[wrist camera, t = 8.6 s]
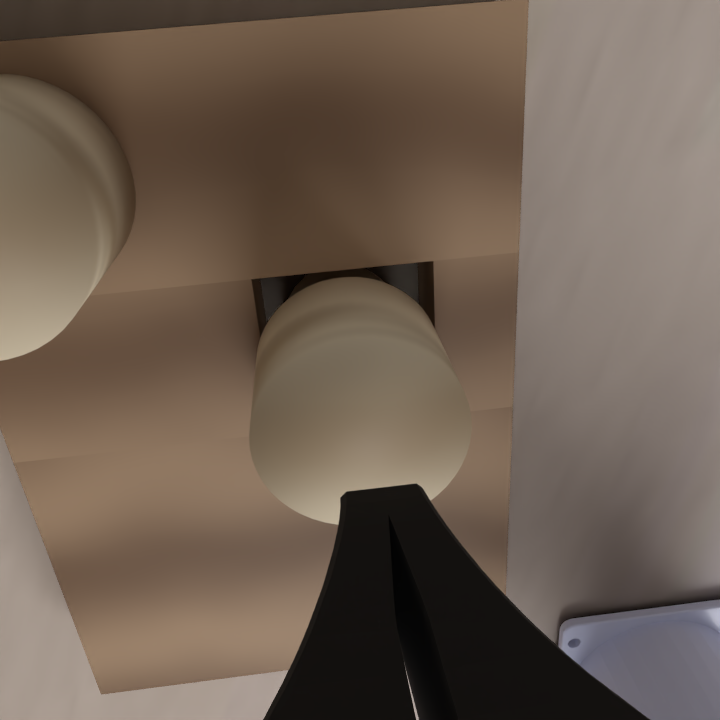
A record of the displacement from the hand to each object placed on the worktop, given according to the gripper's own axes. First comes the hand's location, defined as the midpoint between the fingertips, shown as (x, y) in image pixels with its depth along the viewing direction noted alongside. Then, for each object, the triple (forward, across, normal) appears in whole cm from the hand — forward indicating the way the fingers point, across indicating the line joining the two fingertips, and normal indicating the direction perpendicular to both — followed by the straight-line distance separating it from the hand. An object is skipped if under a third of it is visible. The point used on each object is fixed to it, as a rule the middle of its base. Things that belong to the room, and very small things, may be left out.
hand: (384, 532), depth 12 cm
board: (+10, +2, +2) cm, 10 cm away
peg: (+10, 0, 0) cm, 10 cm away
